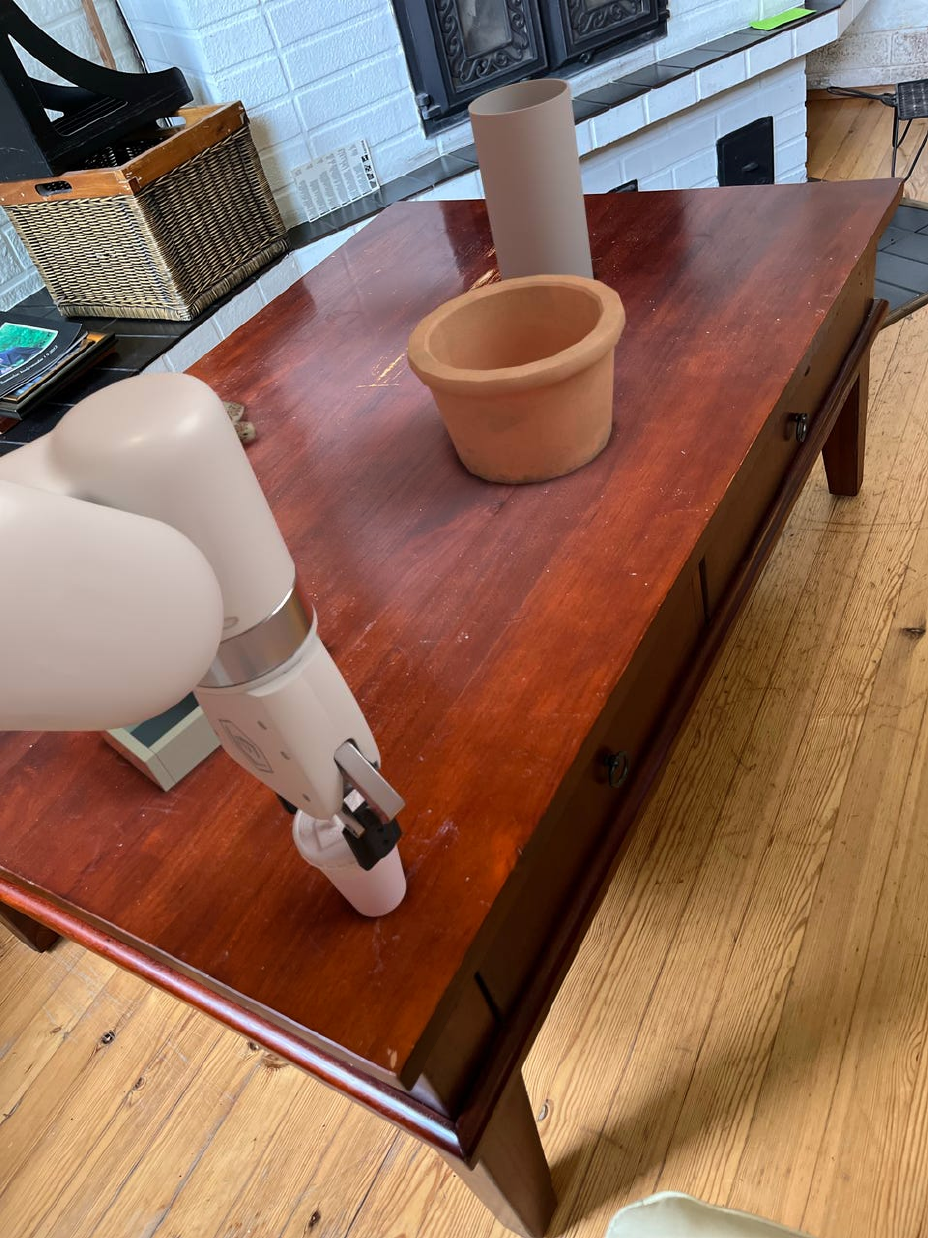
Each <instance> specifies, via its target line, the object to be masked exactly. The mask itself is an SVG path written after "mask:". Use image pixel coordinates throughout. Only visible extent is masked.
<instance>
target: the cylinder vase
mask: <svg viewBox="0 0 928 1238" xmlns="http://www.w3.org/2000/svg"><path fill="white" fill-rule="evenodd" d="M467 111H468V115H469V121H470V126H471V131H472V137H473V141H474V148H475V152H476V158H477V163H478V168H479V173H480V179H481V184H482V188H483V194H484V199H485V204H486V209H487V215H488V220H489V225H490V231H491V236H492V240H493V241H492V242H493V246H494V251H495V258H496V261H497V268H498V272H499V273H498V274H499V277H500V278H499V279H500V281H504V280H508V279H515V278H521V277H528V276H535V275H575V276H580V277H584V278H588V279H593V280H594V271H593V265H592V264H593V263H592V255H591V247H590V240H589V230H588V223H587V222H588V221H587V215H586V214H587V213H586V206H585V198H584V197H585V196H584V190H583V189H584V188H583V181H582V173H581V165H580V156H579V149H578V139H577V132H576V124H575V123H576V122H575V117H574V108H573V99H572V92H571V84H570V82H569V81H567V80H565V79H562V78H540V79H539V78H538V79H532V80H526V81H521V82H517V83H513V84H509V85H506V86H502V87H500V88H497V89H493V90H490V91H489V92H487V93H485V94H482V95H480V96H479V97H477V98H476V99H474V100H473V101H472V102H471V103H469V105H468V107H467Z"/></svg>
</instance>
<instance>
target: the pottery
mask: <svg viewBox="0 0 928 1238" xmlns="http://www.w3.org/2000/svg"><path fill="white" fill-rule="evenodd" d="M621 300H622V299H621V297H620V294H619V293H618V292H617V291H616V290H614V289H613V288H611V287H609V286H608V285H607V284H605V283H603V282H602V281H601V280H597V279H594V278H593V279H588V278H584V277H580V276H575V275H535V276H528V277H521V278H515V279H508V280H504V281H501V280H500V281H498V282H493V283H490V284H487V285H484V286H481V287H478V288H474V289H471V290H469V291H466V292H465V293H463V294H461V295H459V296H457V297H454V298H453V299H449V300H448V301H446V302H444V303H442V304H440V306H438V307H437V308H436V309H434V310H433V311H432V312H430V313H429V314H428V315H426V316H425V317H424V318H422V319H420V321H419V322H418V324H417V326H416V327H415V328H414V330H413V331H412V333H410V335H409V337H408V339H407V357H406V359H407V362H408V365H409V369H410V370H411V371H412V372H413V374H414V375H415V376H416V378H418V380H419V381H420V382H421V383H422V384H423V385H424V386H426V387H428V388H429V390H430V393H431V395H432V397H433V400H434V402H435V404H436V406H437V409H438V411H439V413H440V415H441V418H442V420H443V423H444V425H445V427H446V430H447V432H448V434H449V436H450V438H451V441H452V444H453V445H454V448H455V450H456V453H457V455H458V457H459V459H460V462H461V463H462V464H463V465H464V466H465V468H466V469H467V470H468V471H469V473H470V474H473V475H475V476H478V477H479V478H481V479H484V480H485V481H488V482H492V483H501V484H508V485H521V484H531V483H542V482H546V481H549V480H552V479H554V478H558V477H562V476H565V475H569V474H571V473H572V472H574V471H575V470H578V469H579V468H581V467H583V466H584V465H586V464H588V463H590V462H592V460H594V459H595V458H596V457H597V456H598V454H599V453H600V452H602V450H604V448H605V447H607V444H608V441H609V440H610V439H609V438H610V435H611V434H612V430H613V429H612V426H613V402H614V401H613V398H614V373H615V370H614V369H615V346H616V345H617V344H618V343H619V340H620V337H621V335H622V333H623V331H624V328H625V325H626V323H627V322H626V321H627V320H626V311H625V308H624V305H623V303H622V301H621Z"/></svg>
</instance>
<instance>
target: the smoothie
mask: <svg viewBox="0 0 928 1238" xmlns="http://www.w3.org/2000/svg"><path fill="white" fill-rule="evenodd" d="M344 801H345V802H346V804H347V805H348V806H349V808H350V809H351V810H352V812H353V811H354V810H355V809H356V808H357V807H358V806H359V805H360V804H361V803H362V802H363V801H364V799H363V797H362V796H361V795H360V794H359V793H358V792H357V791H356V790H355V789H354V790H353V791H352V792H351V793H350V794H349V795H348V796H347V797H346V798H345V799H344ZM344 827H345V825H344V824H343V823H342V821H341V820H340V819H339V817H338V816H337V815H336V814H335V815H334V816H333V817H332V818H331V819H330V820H319V819H315V818H313V817H311V816H309V815H307V814H306V813H304V812H303V811H301V810H300V809H299V808H298V810H297V812H296V814H294V817H293V819H292V827H291V830H292V831H291V833H292V838H293V842H294V844H295V847H296V848H297V850H298V852H299V854H300V856H301V858H302V859H303V860H305V861H306V862H307V863H308V864H309V865H310V866H313V867H315V868H318V870H319V871H320V872H322V874H323V875H325V877H326V878H327V879H328V880H329V881H330V882H331V884H333V885H334V887H335V888H336V889H337V890H338V891H339V892H340V893H341V894H342V896H343V897H344V899H346V900H347V901H348V902H349V903H350V905H351V906H352V907H353V908H354V909H355V910H356V911H357V912H358V913H360V914H361V915H363V916H367V917H373V918H376V917H381V916H384V915H387V914H389V913H390V912H392V911H393V910H395V909H396V908H397V907H398V906H399V905H400V904H401V902H402V901H403V899H404V897H405V895H406V890H407V881H406V878H405V874H404V870H403V865H402V861H401V856H400V853H399V850H398V844H397V843H396V845H395V847H394V849H393V850H392V851H391V852H390V853H389V854H388V855H387V856H386V857H384V858H382V859H380V861H379V862H378V863H377V864H376V865H375V866H374V867H373V868H372V869H371V870H369V871H365V870H364V869H363V868H361V867H360V866H359V864H358V862H357V860H356V858H355V856H354V854H353V853H352V851H351V849H350V847H349V845H348V843H347V841H346V840H345V838H344V836H343V834H342V831H343V828H344Z"/></svg>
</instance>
